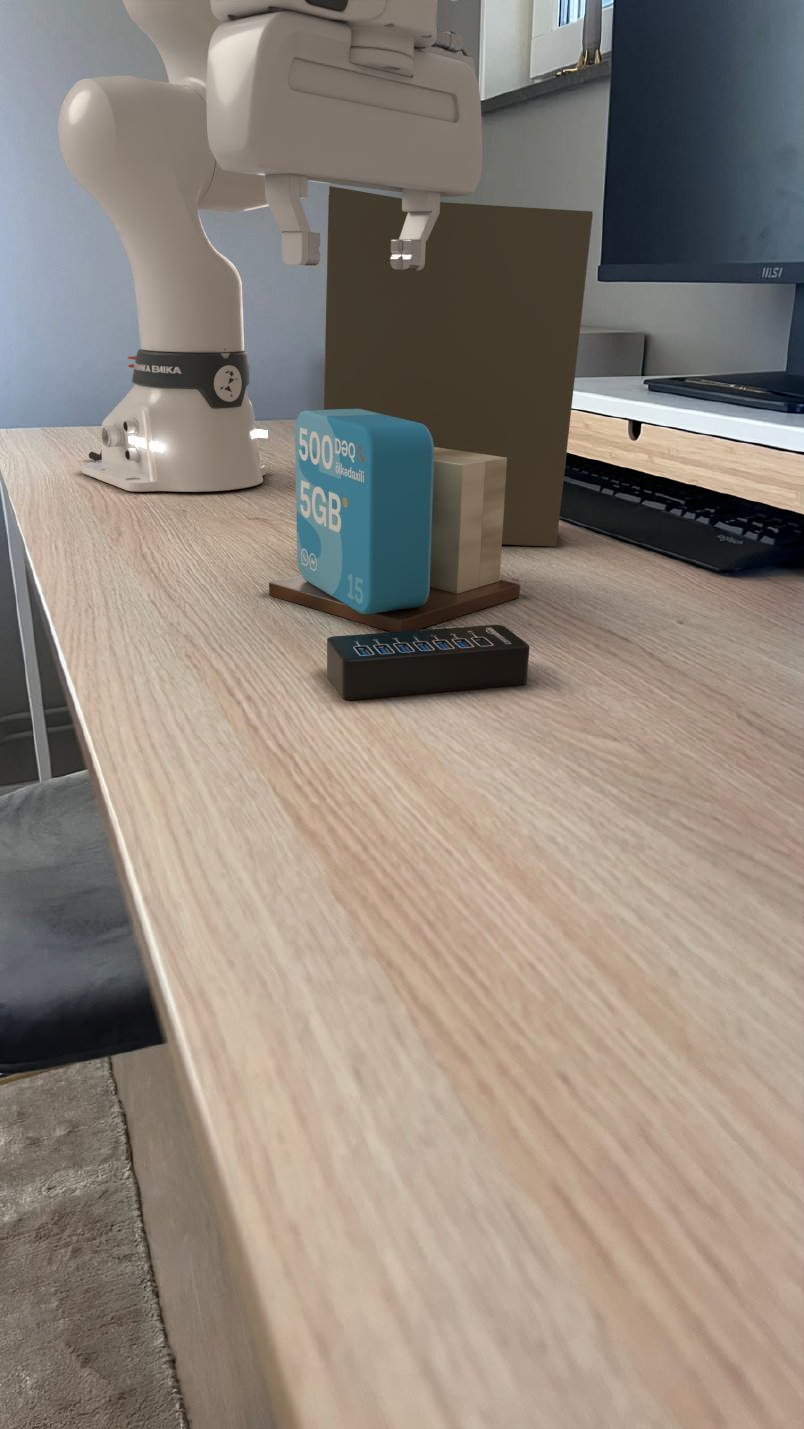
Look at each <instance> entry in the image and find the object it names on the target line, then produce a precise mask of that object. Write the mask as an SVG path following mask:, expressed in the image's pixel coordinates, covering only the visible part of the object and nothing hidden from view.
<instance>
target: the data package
mask: <svg viewBox="0 0 804 1429" xmlns="http://www.w3.org/2000/svg"><path fill="white" fill-rule="evenodd" d="M294 444H295V445H294V448H295V450H294V451H295V453H294V454H295V455H294V456H295V504H296V505H295V506H296V510H295V511H296V514H295V515H296V557H297V558H296V559H297V565H298V569H299V572H300V575H302V576H303V578H304V579H305V580H306V581H307V582H309V583H310V584H312V585H314V586H316V587H317V588H319V589H321V590H322V591H324V592H326V593H327V594H329V595H331V596H332V597H334V598H336V599H337V600H339V601H341V602H342V603H344V604H346V605H347V606H349V607H351V608H352V609H354V610H356V611H357V612H359V613H361V614H371V613H379V612H386V611H394V610H401V609H409V608H416V607H421V606H422V605H424V604H425V602H426V601H427V599H428V596H429V591H430V565H431V535H432V505H433V475H434V443H433V439H432V436H431V433H430V431H429V430H428V428H427V427H426V426H425V425H423V424H421V423H417V422H413V421H409V420H404V419H400V418H396V417H392V416H388V415H383V414H379V413H375V412H371V411H366V410H362V409H335V410H324V409H312V410H309V409H307V410H303V411H301V412H300V413H299V414H298V416H297V418H296V421H295V427H294Z"/></svg>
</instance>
